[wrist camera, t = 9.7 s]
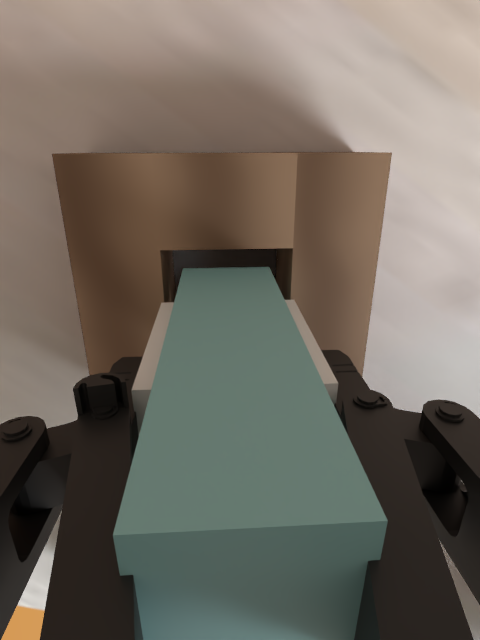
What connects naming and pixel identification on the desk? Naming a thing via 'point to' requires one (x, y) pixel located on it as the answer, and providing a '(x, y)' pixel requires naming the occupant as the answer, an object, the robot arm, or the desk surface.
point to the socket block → (221, 235)
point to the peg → (244, 478)
